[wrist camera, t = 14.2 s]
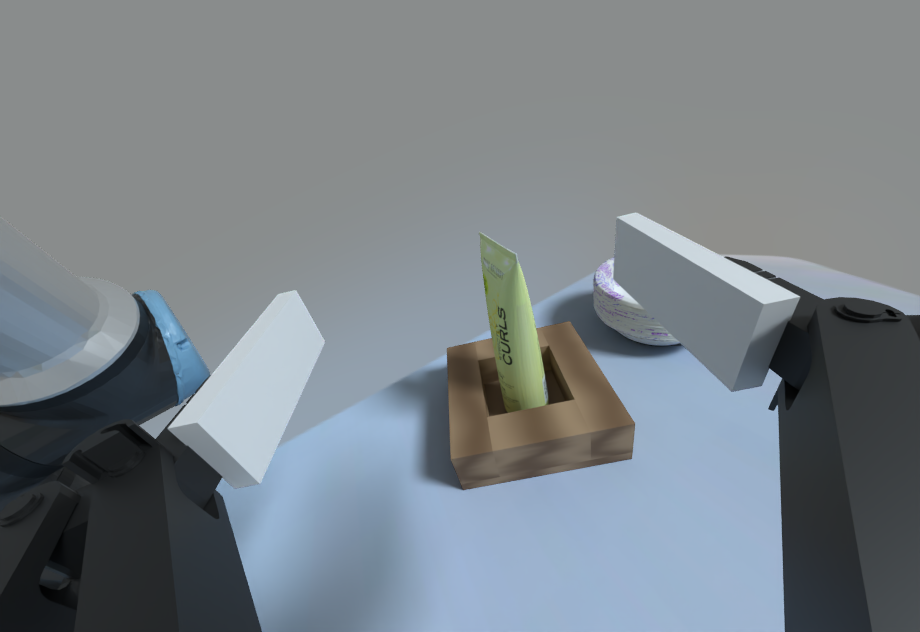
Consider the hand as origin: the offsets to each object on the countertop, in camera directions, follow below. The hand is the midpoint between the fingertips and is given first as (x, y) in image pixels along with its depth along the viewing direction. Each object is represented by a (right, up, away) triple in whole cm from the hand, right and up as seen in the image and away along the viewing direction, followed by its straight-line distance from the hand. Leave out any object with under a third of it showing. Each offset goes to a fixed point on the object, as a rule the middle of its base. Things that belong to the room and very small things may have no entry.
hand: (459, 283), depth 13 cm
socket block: (+8, -12, +24) cm, 28 cm away
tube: (+8, -11, +23) cm, 27 cm away
